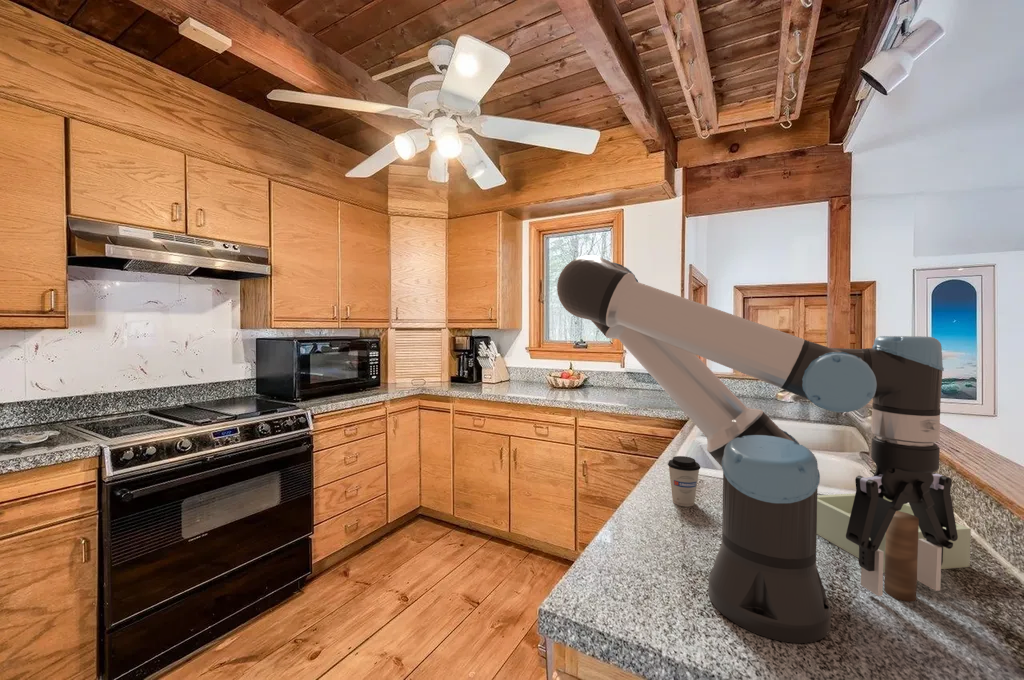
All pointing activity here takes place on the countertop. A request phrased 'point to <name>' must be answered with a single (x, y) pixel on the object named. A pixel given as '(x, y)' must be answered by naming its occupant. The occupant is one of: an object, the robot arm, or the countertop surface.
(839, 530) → the peg box
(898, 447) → the robot arm
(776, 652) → the countertop surface
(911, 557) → the peg
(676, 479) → the coffee cup
